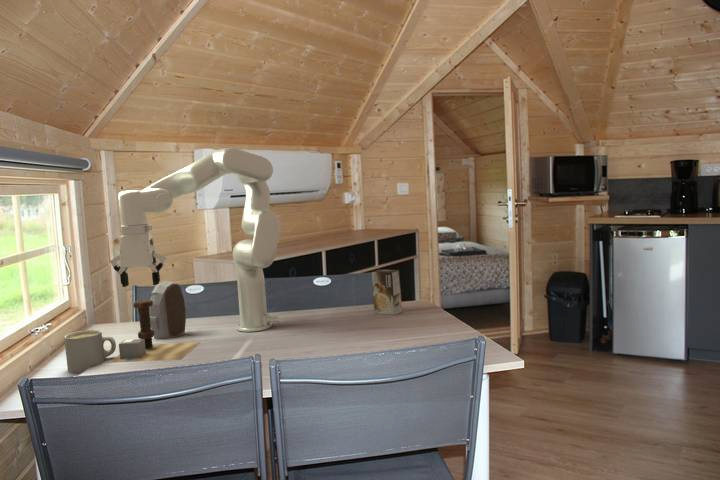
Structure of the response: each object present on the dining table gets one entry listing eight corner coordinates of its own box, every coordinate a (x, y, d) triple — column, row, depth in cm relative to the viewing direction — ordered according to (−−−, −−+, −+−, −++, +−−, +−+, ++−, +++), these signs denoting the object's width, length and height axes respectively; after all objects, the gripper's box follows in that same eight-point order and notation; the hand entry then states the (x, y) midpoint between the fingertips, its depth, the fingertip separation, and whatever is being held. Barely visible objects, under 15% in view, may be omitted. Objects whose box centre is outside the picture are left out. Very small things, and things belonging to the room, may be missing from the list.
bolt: (141, 346, 187) (137, 300, 185) (158, 345, 187) (153, 298, 186) (136, 351, 181) (132, 303, 180) (153, 350, 182) (148, 302, 180)
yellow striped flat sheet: (201, 346, 188) (200, 342, 188) (182, 364, 170) (181, 359, 170) (133, 349, 189) (133, 345, 189) (107, 367, 171) (107, 362, 171)
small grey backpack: (165, 344, 193) (159, 284, 191) (143, 343, 196) (138, 284, 194) (191, 332, 208) (186, 276, 206) (170, 332, 210) (165, 277, 208)
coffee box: (402, 311, 222) (400, 269, 220) (394, 315, 216) (392, 272, 215) (381, 310, 226) (379, 268, 225) (373, 313, 221) (371, 271, 219)
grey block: (145, 353, 178) (144, 338, 178) (140, 357, 174) (138, 342, 173) (126, 354, 179) (125, 339, 178) (120, 358, 174) (118, 343, 174)
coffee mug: (65, 374, 167) (61, 340, 166) (70, 364, 176) (67, 332, 175) (115, 367, 170) (112, 334, 170) (118, 358, 180) (115, 326, 179)
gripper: (167, 227, 184) (172, 281, 186) (113, 231, 184) (119, 284, 186) (158, 230, 176) (163, 286, 178) (101, 233, 177) (108, 289, 179)
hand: (140, 285), depth 182 cm, fingers open, 9 cm apart
